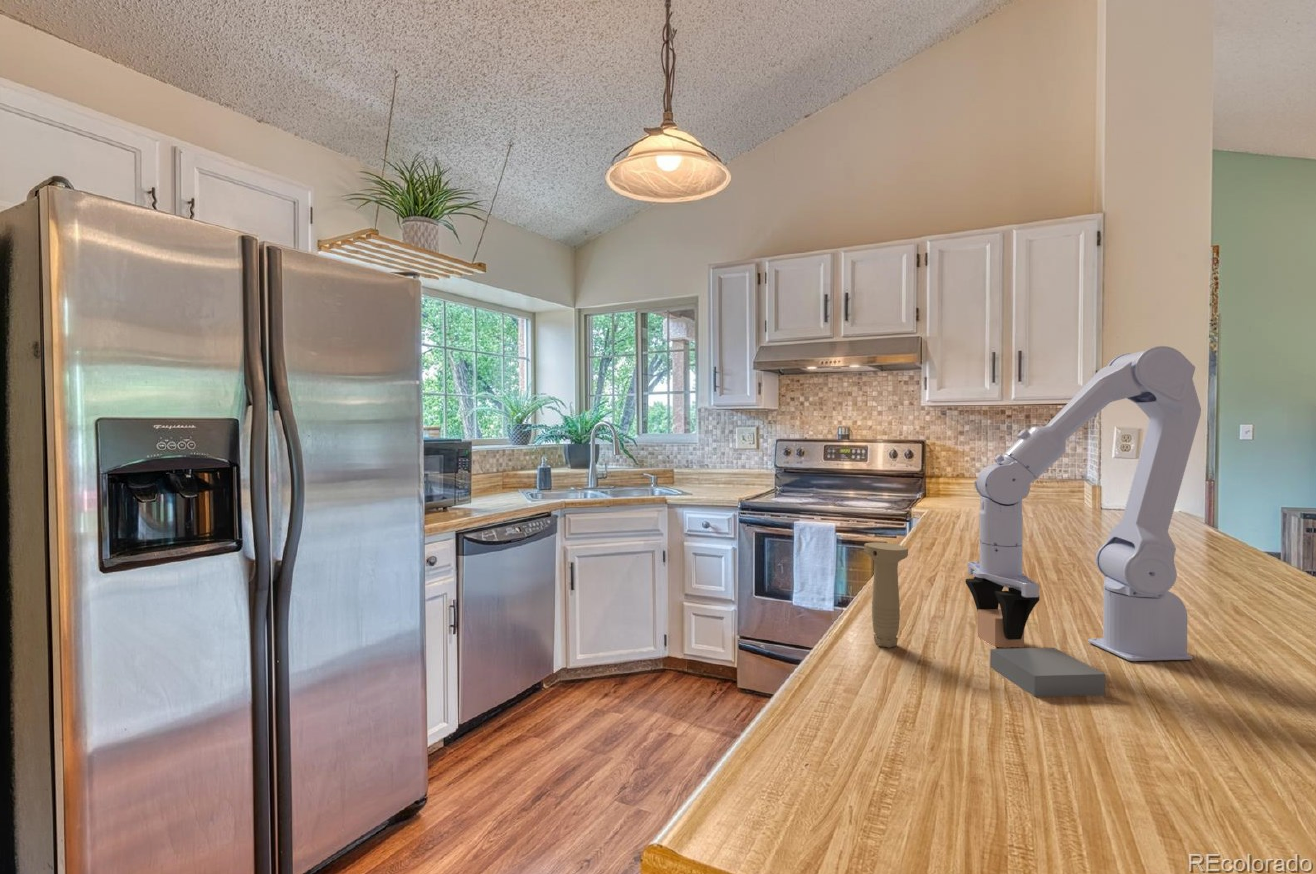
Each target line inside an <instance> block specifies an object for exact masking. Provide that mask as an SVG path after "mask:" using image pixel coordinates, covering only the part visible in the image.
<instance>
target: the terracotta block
mask: <svg viewBox="0 0 1316 874" xmlns="http://www.w3.org/2000/svg"><path fill="white" fill-rule="evenodd" d="M978 637H979V638H980V639H979V638H978ZM977 638H978V639H979V640H981V639H983V640H984V641H986V642H987V643H989V644H991V645H993V646H995V647H1009V648H1008V649H1011V648H1010V647H1019V648H1025V631H1024V632H1023V635H1022V638H1021V639H1015V640H1009V639H1006V638H1005V635H1004V629H1003V617H1002V612H1001V608H998V609H987V610H978V612H977ZM984 641H983V642H984ZM986 642H985V643H986ZM987 643H986V644H987ZM989 644H988V645H989ZM991 645H990V646H991Z"/></svg>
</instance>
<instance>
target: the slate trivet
mask: <svg viewBox="0 0 1316 874" xmlns="http://www.w3.org/2000/svg"><path fill="white" fill-rule="evenodd" d="M989 657H990V665H989V666H990V667H991V668H993V669H994V670H995V671H994V670H993V669H992V670H993V671H994V672H996V673H997V672H998V673H997V674H999V673H1000V674H1001V675H1000V674H999V675H1000V676H1002V677H1003V678H1004V679H1006V678H1007V679H1006V680H1008V681H1009V682H1011V683H1012V684H1014V685H1016V686H1017V687H1018V688H1021V690H1023V691H1025V692H1026V693H1028V694H1029V693H1030V694H1029V695H1031V694H1032V695H1033V697H1034V698H1036V697H1037V698H1040V697H1043V696H1044V697H1045V698H1046V697H1074V696H1075V697H1076V696H1077V697H1078V696H1079V697H1081V696H1105V695H1106V674H1105V673H1104V672H1102V671H1100V670H1098V669H1096V668H1095V667H1092V666H1091V665H1088V664H1087V663H1085V662H1082V661H1080V660H1078V659H1077V658H1074V657H1072V655H1069V654H1067V653H1065V652H1063V651H1061V650H1059V649H1058V648H1055V647H1030V648H1029V647H1019V648H990V656H989ZM991 668H990V669H991ZM1032 695H1031V696H1032ZM1044 697H1043V698H1044Z"/></svg>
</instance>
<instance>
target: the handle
mask: <svg viewBox="0 0 1316 874" xmlns="http://www.w3.org/2000/svg"><path fill="white" fill-rule="evenodd" d="M863 547H864V549H863V550H864V553H865V554H866V555H868V556H869V557H870V558H872V560H873V566H874V567H873V585H872V599H871V600H872V601H871V618H872V619H871V620H872V621H871V622H872V629H873V630H872V631H873V640H874V643H875V644H876V645H877V646H878V647H881V648H883V647H884V648H887V649H888V648H889V649H891V648H894V647H896V646H897V645H898V641H899V640H898V639H899V638H898V637H897V636H898V635H899V628H900V619H901V618H900V616H901V614H900V611H901V610H900V609H901V608H900V607H901V603H900V593H899V590H900V589H899V573H898V568H899V562H900V561H902V560H905V559H906V558H907V557H908V556H909V548H908V547H906V546H904V545H900V544H895V543H889V542H881V541H880V542H876V541H875V542H866V543H864V544H863Z"/></svg>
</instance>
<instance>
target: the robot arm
mask: <svg viewBox="0 0 1316 874" xmlns="http://www.w3.org/2000/svg"><path fill="white" fill-rule="evenodd" d="M1195 371H1196V366H1195V365H1193V363H1192V361H1190V360H1189V359H1188V358H1187V357H1186V356H1185V355H1184V354H1183V353H1182V352H1180V350H1178V349H1176V348H1174V347H1171V346H1166V345H1160V346H1159V345H1157V346H1154V347H1150V348H1148V349H1146V350H1145V349H1144V350H1141V351H1136V352H1133V353H1132V352H1131V353H1130V352H1129V353H1122V354H1120V355H1118V356H1116V357H1115V358H1113V359H1112V360H1111V361H1110V362H1109V363H1108V365H1107V366H1104V367H1102V368H1101V369H1099V370H1098V371H1097V372H1096V373H1095V374H1094V375H1093V376H1092V378H1090V380H1088V381H1087V383H1086V384H1085V385H1084V386H1083V387H1082V388H1081V389H1080V390H1078V392H1077V393H1076V394H1075V395H1074V396H1073V398H1071V399H1070V400H1069V401H1068V403H1066V405H1064V406H1063V407H1062V408H1061V410H1059V412H1057V414H1056V415H1055V416H1054V417H1052V419H1051V420H1050V421H1049V422H1048V423H1047V424H1046V425H1045V426H1032V427H1030V428H1029V429H1028V430H1026V429H1022V430H1021V431H1020V432H1019V433H1018V434H1017V435H1016V436H1017V437H1016V438H1018V440H1016V441H1015V442H1014V444H1012V445H1011V446H1010V447H1009V448H1008V449H1007V450H1006V451H1005V452H1004V453H1003V454H997V455H996V456H995V457H994V458H993V460H994V461H995V462H996V464H991V465H987V466H985V467H984V468H981V470H980V471H979V473H978V474H977V479H976V480H975V481H974V489H975V490H976V492H977V493H978V495H979V496H980V511H979V561H968V562H967V574H969V575H972V576H973V578H966V579H965V584H966V586H967V588H968V589H969V592H970V593H971V595H972V598H973V601H974V603H975V607H976V611H977V613H978V610H987V609H1001V612H1002V617H1003V629H1004V635H1005V638H1006V639H1009V640H1015V639H1021V638H1022V635H1023V632H1024V633H1025V628H1026V625H1027V622H1028V619H1029V617H1030V614H1031V613H1032V611H1033V609H1034V608H1035V607H1036V606H1037V604H1038V602H1039V601H1040V584H1039V583H1038V582H1035V581H1033V580H1032V579H1031V578H1030V577H1028V576H1027V575H1026V574H1024V573H1023V526H1024V525H1023V523H1024V520H1023V518H1024V517H1023V516H1024V515H1023V500H1024V499H1026V498H1028V496H1029V494H1030V491H1031V483H1035V481H1036V480H1037V479H1038V478H1040V476H1042V475H1043V474H1044V473H1045V472H1046V471H1047V470H1048V469H1049V468H1050V467H1051V466H1052V465H1053V464H1055V463H1056V462H1057V461H1058V460H1059V459H1060V458H1061V457H1062V456H1064V454H1065V453H1066V450H1067V449H1066V446H1067V445H1066V441H1067V440H1068V438H1070V437H1071V436H1072V435H1073V434H1075V433H1076V432H1077V431H1078V430H1079V429H1081V428H1082V427H1083V426H1084V425H1085V424H1086V423H1087V422H1089V421H1090V420H1091V419H1093V417H1095V416H1096V415H1097V414H1099V413H1100V411H1102V410H1103V409H1104V408H1106V407H1107V406H1108V405H1109V404H1110V403H1112V402H1116V401H1120V400H1124V399H1127V400H1129V401H1131V402H1132V403H1135V404H1136V405H1137V406H1138V408H1140V410H1141V411H1142V412H1143V413H1144V414H1145V415H1146V416H1147V418H1148V420H1149V421H1148V424H1147V427H1146V431H1145V435H1144V439H1143V442H1142V447H1141V450H1140V453H1139V457H1138V461H1137V463H1136V468H1135V471H1134V475H1133V478H1132V482H1131V486H1130V490H1129V494H1128V497H1127V501H1126V504H1125V507H1124V511H1123V515H1122V518H1121V521H1119V522H1118V523H1117V524H1116V525H1115V526H1113V528H1112V529H1110V531H1109V534H1108V537H1107V539H1106V540H1105V542H1104V543H1103V544H1102V545H1101V546H1100V547H1099V549H1098V550H1097V552H1096V555H1095V565H1096V567H1097V569H1098V571H1099V572H1100V573H1101V574H1102V575H1103V576H1104V581H1103V583H1102V585H1103V586H1102V587H1103V592H1102V593H1103V598H1102V600H1103V603H1102V604H1103V605H1102V606H1103V609H1102V610H1103V612H1102V614H1103V616H1102V637H1101V638H1098V637H1097V638H1088V639H1087V642H1088V643H1089V644H1092V645H1093V646H1096V647H1098V648H1101V649H1102V650H1105V651H1107V652H1110V653H1112V654H1114V655H1116V656H1118V657H1120V658H1123V659H1124V660H1127V661H1130V662H1138V661H1139V662H1141V661H1142V662H1144V661H1145V662H1147V661H1183V660H1193V658H1194V657H1193V656H1192V655H1191V654H1188V611H1187V608H1186V605H1185V604H1184V602H1183V601H1182V599H1181V598H1180V597H1179V596H1178V595H1177V594H1176V593H1174V592H1172V591H1170V590H1171V589H1172V588H1173V586H1174V585H1175V583H1176V580H1177V576H1178V574H1177V573H1178V572H1177V568H1176V565H1175V555H1176V552H1177V548H1176V546H1175V543H1174V542H1173V540H1172V538H1171V535H1170V534H1169V528H1170V525H1171V520H1172V517H1173V514H1174V510H1175V507H1176V503H1177V501H1178V497H1179V493H1180V489H1181V487H1182V486H1181V485H1182V482H1183V479H1184V476H1185V475H1184V474H1185V471H1186V467H1187V464H1188V461H1189V457H1190V454H1191V450H1192V446H1193V443H1194V439H1195V436H1196V434H1197V433H1196V432H1197V429H1198V426H1199V422H1200V417H1201V413H1202V409H1201V405H1200V399H1199V398H1198V393H1197V390H1196V386H1195V383H1194V379H1193V378H1194V376H1195ZM1004 588H1006V589H1008V590H1004Z"/></svg>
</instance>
